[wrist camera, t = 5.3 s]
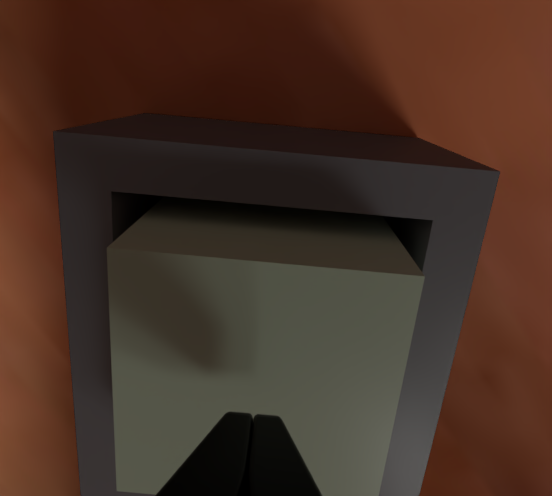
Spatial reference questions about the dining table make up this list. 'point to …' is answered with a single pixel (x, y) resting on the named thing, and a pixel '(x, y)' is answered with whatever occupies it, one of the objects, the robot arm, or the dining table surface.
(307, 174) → the button board
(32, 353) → the dining table surface
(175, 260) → the sage green button
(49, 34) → the dining table surface
